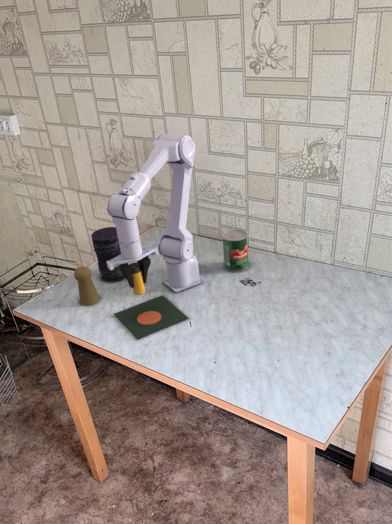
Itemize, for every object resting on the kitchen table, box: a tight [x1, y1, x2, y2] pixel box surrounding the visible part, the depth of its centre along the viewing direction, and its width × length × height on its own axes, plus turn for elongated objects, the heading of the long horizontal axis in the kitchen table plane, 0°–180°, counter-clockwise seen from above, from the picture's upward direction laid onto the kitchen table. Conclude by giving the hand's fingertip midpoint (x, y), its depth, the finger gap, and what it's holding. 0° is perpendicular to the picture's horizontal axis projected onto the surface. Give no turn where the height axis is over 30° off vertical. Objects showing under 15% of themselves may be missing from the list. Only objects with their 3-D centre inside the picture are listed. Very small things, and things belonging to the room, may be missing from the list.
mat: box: [114, 294, 189, 340], centre depth 147 cm, size 16×16×1 cm
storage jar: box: [90, 226, 126, 283], centre depth 166 cm, size 10×10×15 cm
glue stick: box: [128, 262, 146, 296], centre depth 143 cm, size 4×4×8 cm
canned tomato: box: [221, 229, 250, 273], centre depth 163 cm, size 8×8×11 cm
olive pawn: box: [73, 266, 100, 306], centre depth 155 cm, size 6×6×11 cm
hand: (137, 284), depth 144 cm, fingers closed on glue stick, 3 cm apart
